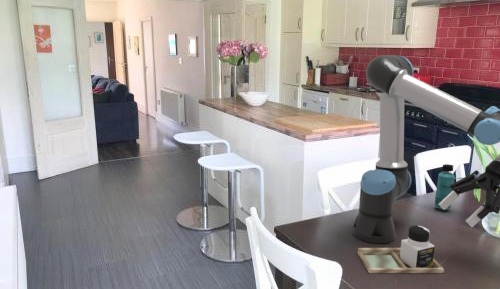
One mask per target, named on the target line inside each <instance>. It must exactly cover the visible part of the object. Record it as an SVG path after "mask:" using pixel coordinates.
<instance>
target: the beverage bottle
mask: <svg viewBox="0 0 500 289" xmlns="http://www.w3.org/2000/svg"><path fill="white" fill-rule="evenodd" d="M441 169H442V171H441V172H439V173H438V177H437V183H436V184H437V185H436V189H435V191H436V193H435V196H434V207H435V208H437V209H441V210H443V209H442V208H441V207H440V205H439V203H440V202H441V201H442V200H443V199H444V198H445V197H446V196H447V195H448V194H449V193H450V192H451V191H452V189H451V187H450V185H451V184H453V183H455V178H456V176H455V174H454V173H453V172H454V166H453V165H452V164H448V163H446V164H443V165H442V167H441ZM451 208H452V204H451V205H449V206H448V207H447V208H446V209H445V210H450V209H451Z"/></svg>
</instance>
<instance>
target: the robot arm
mask: <svg viewBox="0 0 500 289" xmlns="http://www.w3.org/2000/svg"><path fill="white" fill-rule="evenodd" d="M365 70H366V71H365V77H366V80H367V82H368V83H369V84H370V86H372V87H373V88H375V94H376V95H377V96H378V97H379V159H378V160H377V161H376V162H375V169H372V170H371V169H370V170H367V171H365V172H364V173H363V174H362V175H361V180H360V184H359V185H360V190H359V203H358V204H359V205H358V214H357V216H356V218H355V220H354V222H353V224H352V234H353V236H355V237H356V238H357V239H358V240H361V241H364V242H367V243H371V244H387V243H391V242H393V241H394V240H396V239H395V238H396V234H397V232H396V229H395V223H394V219H393V211H394V210H393V209H394V201H396V200H397V199H399V198H400V197H402V196H404V194H406V193H407V192H408V190H409V189H410V187H411V185H412V175H411V173H410V172H409V170H408V169H409V168H408V166H409V165H408V163H407V162H406V161H405V160H404V159H405V158H404V153H405V151H404V150H405V146H404V143H405V141H404V140H405V101H406V102H409V103H411V104H412V105H414V106H416V107H418V108H420V109H422V110H424V111H425V112H427V113H430V114H432V115H433V116H436V117H438V118H439V119H441V120H443V121H445V122H447V123H449V124H451V125H453V126H455V127H456V128H458V129H461V130H462V131H464V132H466V133H468V134H469V135H472V136H473V137H475V139H476V140H477V142H479V143H480V144H483V145H486V146H491V145H496V144H498V143H500V108H498V107H497V106H490V107H489V108H487V109H486V110H485V111H484V110H482V109H479V108H477V107H475V106H474V105H472V104H470V103H467V102H465V101H464V100H461V99H459V98H458V97H455V96H453V95H452V94H451V95H450V94H449V93H447V92H445V91H443V90H440V89H439V88H437V87H435V86H433V85H431V84H429V83H426V82H424V81H422V80H420V79H419V78H416V77H414V67H413V64H412V63H411V62H410V60H409V59H408V58H407V57H404V56H401V55H398V54H393V55H391V54H390V55H389V54H388V55H387V54H384V55H383V54H382V55H378V56H376V57H374V58H373V59H371V60H370V62H369V63H367V66H366V69H365ZM484 170H485V171H484V172H482V173H481V172H479V171H478V170H477V169H476V170H474V171H473V172H472V173H471V174H469V175H467V176H465V177H463V178H461V179H459V180H457V181H454V183H453V184H451V185H450V187H451V189H452V191H451V192H450V193H449V194H448V195H447V196H446V197H445V198H444V199H443V200H442V201H441V202H440V203H439V205H440V207H441V208H442V209H441V210H444V211H446V210H447V209H446V208H447V207H448V206H449V205H451V206H452V204H453V203H454V202H455V201H456V200H457V199H458V198H459V197H460V195H461V194H464V193H467V192H471V191H474V190H482V191H485V192H486V193H485V200H484V204H482V205H480V207H478V208H477V209H476V210H475V211H474V212H473V213H472V214H471V215H470V216H469V217H468V218H466V219H465V222H466V224H468V226H469V227H471V228H474V226H475V225H476V224H478V222H480V221H481V220H484V218H486V217H487V216H488V215H489V214H490V213H495V214H499V213H500V153H499V154H498V155H497V156H495V157H494V160H492V161H490V162H489V164H488V165H487V166H485V169H484Z"/></svg>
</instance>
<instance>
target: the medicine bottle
mask: <svg viewBox="0 0 500 289" xmlns="http://www.w3.org/2000/svg"><path fill="white" fill-rule="evenodd" d="M430 232H431V231H430V230H429V228H427V227H424V226H421V225H411V226H410V227H409V228H408V234H407V238H405V239H401V241H400V242H401V243H400V248H401V249H400V255H399V258H400V259H401V261H402V262H403V263H404V264H405V265H407V266H409V268H430V267H432V266H434V265H433V258H434V254H435V249H436V248H435V244H433V243H431V242H430V235H431V233H430Z"/></svg>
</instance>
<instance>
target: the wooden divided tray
mask: <svg viewBox="0 0 500 289" xmlns="http://www.w3.org/2000/svg"><path fill="white" fill-rule="evenodd" d="M400 249H401V247H358V248H357V255H358V257H359V258H360V260H361V263H362V264H363V265H364V267H365V269H366V270H367V272H368V274H444V272H445V269H444V267H443V266H441V264H440V263H439V262H438V261H437V260H436V259H435V258H434V257H433V265H432V266H434V267H426V268H412V267H407V266H406V264H405V263H404V262H402V261H401V259H400Z"/></svg>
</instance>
